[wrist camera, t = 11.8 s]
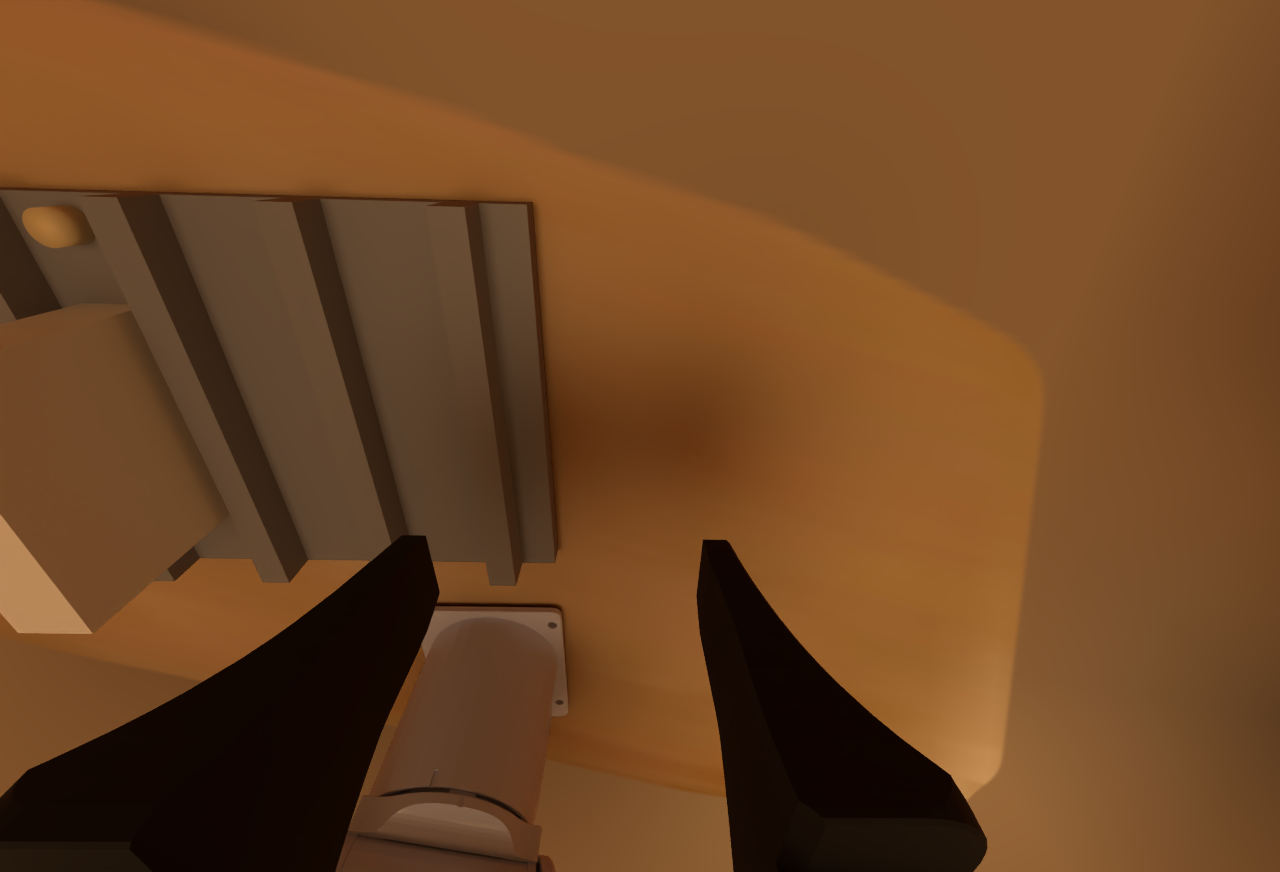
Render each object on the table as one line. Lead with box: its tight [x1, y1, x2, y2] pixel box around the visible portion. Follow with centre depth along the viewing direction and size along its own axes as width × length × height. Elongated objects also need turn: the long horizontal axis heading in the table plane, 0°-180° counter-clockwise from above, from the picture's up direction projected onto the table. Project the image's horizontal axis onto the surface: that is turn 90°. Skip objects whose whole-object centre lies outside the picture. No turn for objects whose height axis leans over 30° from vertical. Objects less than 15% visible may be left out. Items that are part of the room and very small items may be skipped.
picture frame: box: [0, 303, 230, 634], centre depth 17 cm, size 9×2×7 cm, turn 179°
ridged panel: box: [0, 188, 558, 586], centre depth 20 cm, size 16×20×2 cm
